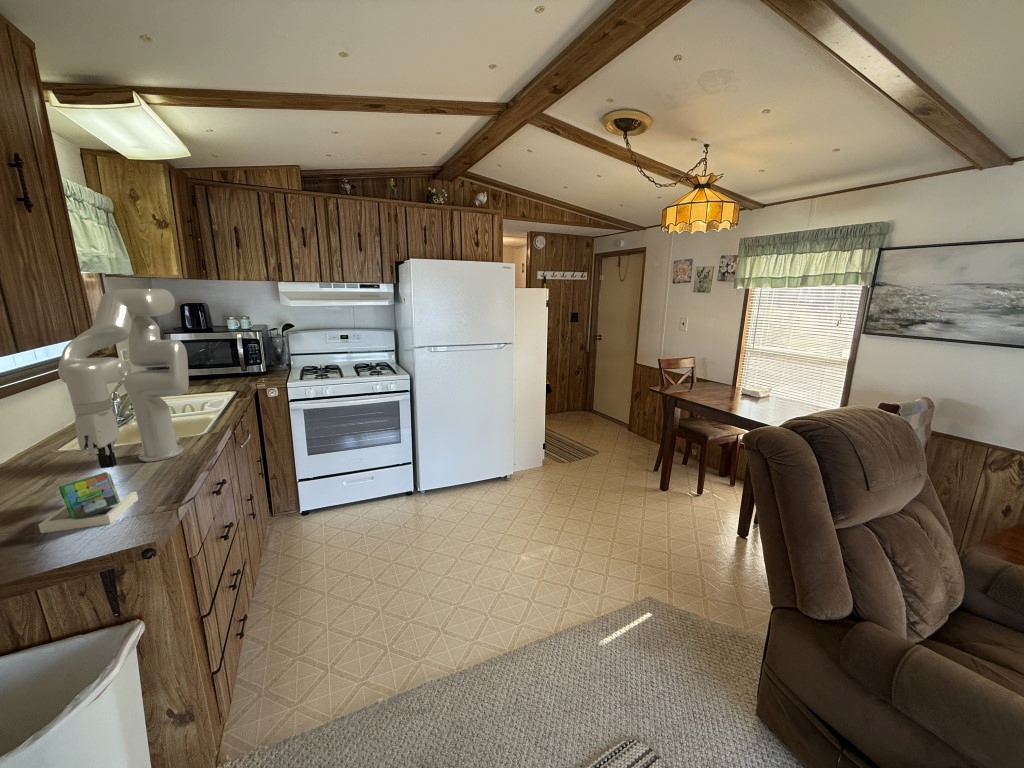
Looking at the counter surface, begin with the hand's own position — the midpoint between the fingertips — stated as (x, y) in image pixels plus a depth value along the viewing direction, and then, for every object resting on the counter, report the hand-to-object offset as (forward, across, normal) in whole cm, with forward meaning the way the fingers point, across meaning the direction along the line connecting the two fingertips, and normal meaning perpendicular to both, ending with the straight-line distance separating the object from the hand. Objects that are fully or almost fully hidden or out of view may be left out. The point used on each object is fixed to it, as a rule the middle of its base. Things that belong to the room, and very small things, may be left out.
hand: (109, 466), depth 121 cm
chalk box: (+5, +8, -1) cm, 9 cm away
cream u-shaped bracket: (+9, +10, 0) cm, 14 cm away
